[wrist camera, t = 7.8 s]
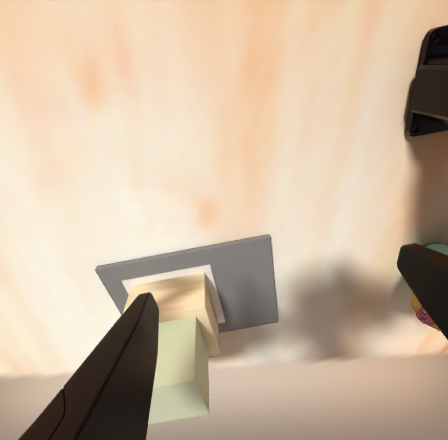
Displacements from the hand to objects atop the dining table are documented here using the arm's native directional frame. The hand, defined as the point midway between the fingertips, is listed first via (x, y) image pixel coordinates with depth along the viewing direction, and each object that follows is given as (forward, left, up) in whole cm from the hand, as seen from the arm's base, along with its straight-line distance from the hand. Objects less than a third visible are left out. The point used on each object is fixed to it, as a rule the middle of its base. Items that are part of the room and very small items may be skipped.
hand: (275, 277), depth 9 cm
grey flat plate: (+6, +13, -12) cm, 19 cm away
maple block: (+8, +13, -11) cm, 19 cm away
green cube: (+8, +13, -7) cm, 17 cm away
